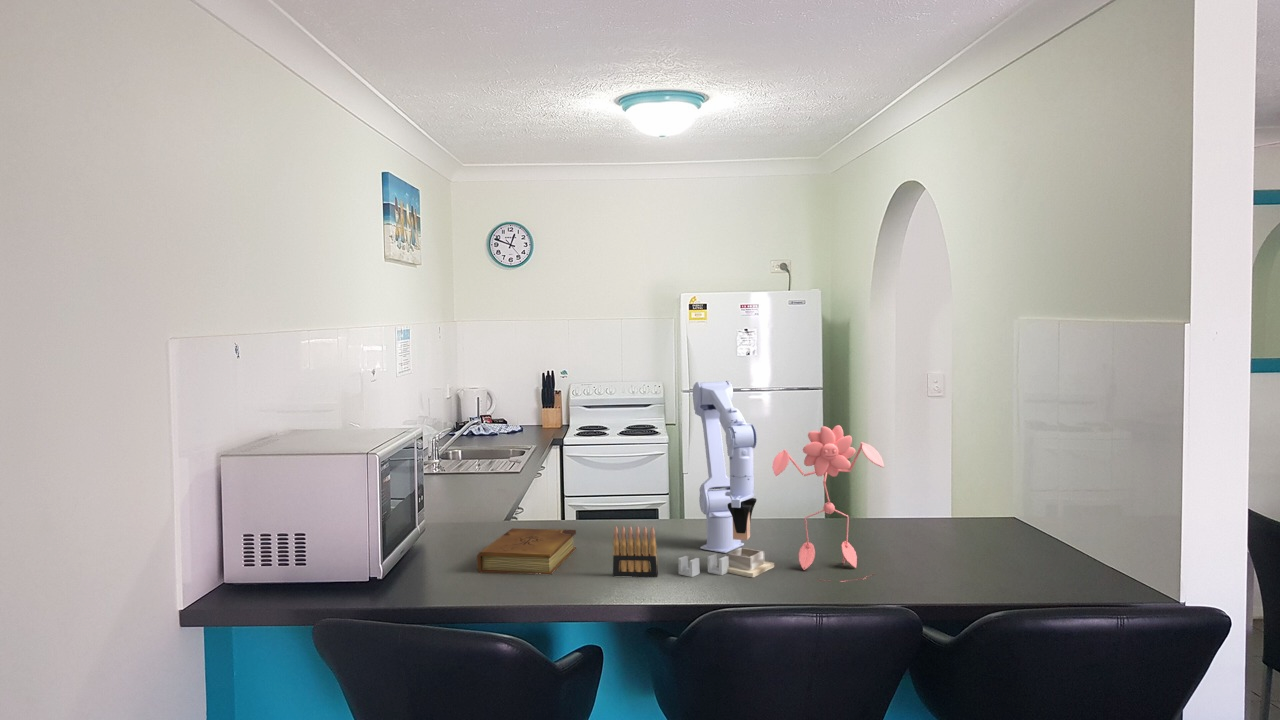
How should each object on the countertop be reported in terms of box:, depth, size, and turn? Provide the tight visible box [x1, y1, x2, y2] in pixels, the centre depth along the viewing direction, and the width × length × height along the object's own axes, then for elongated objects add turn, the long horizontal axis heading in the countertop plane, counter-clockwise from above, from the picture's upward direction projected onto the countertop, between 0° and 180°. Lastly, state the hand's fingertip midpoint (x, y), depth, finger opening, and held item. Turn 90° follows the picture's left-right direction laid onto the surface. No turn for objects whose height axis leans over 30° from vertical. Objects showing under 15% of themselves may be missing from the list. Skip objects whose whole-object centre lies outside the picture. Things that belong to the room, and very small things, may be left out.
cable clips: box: [677, 553, 729, 578], centre depth 205 cm, size 8×9×4 cm
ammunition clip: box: [612, 525, 659, 578], centre depth 204 cm, size 11×2×12 cm, turn 82°
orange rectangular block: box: [733, 512, 751, 541], centre depth 207 cm, size 4×4×6 cm
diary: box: [476, 527, 577, 575], centre depth 219 cm, size 23×19×6 cm
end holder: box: [717, 546, 775, 578], centre depth 207 cm, size 10×10×4 cm
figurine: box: [772, 425, 885, 583], centre depth 202 cm, size 15×26×35 cm, turn 90°
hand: (742, 530), depth 207 cm, fingers closed on orange rectangular block, 3 cm apart
